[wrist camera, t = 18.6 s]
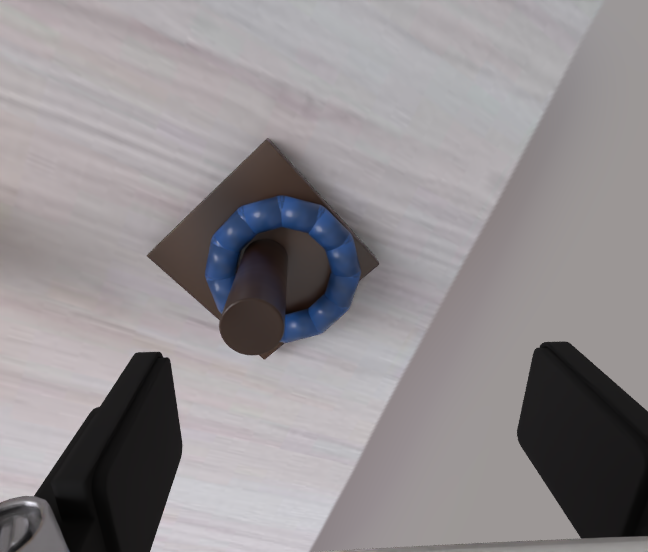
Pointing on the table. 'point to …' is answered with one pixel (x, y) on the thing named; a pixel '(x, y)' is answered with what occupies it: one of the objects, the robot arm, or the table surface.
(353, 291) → the ring
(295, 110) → the table surface
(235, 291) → the peg
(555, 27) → the table surface
